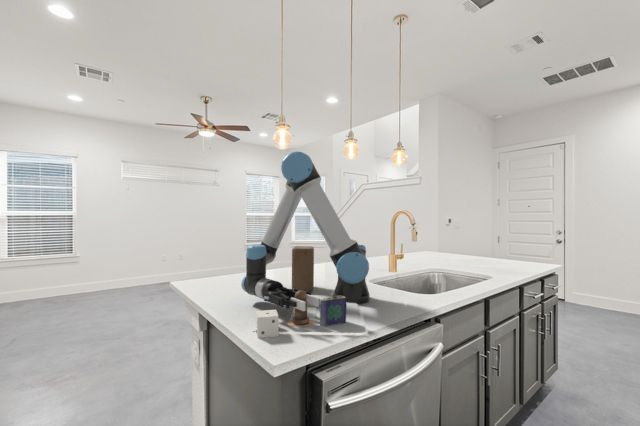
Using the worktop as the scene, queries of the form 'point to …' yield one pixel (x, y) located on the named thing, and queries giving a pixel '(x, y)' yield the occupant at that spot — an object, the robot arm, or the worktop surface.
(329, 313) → the flask
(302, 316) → the pawn
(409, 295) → the worktop surface
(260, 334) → the white die
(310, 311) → the board
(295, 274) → the wooden block
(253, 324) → the worktop surface
